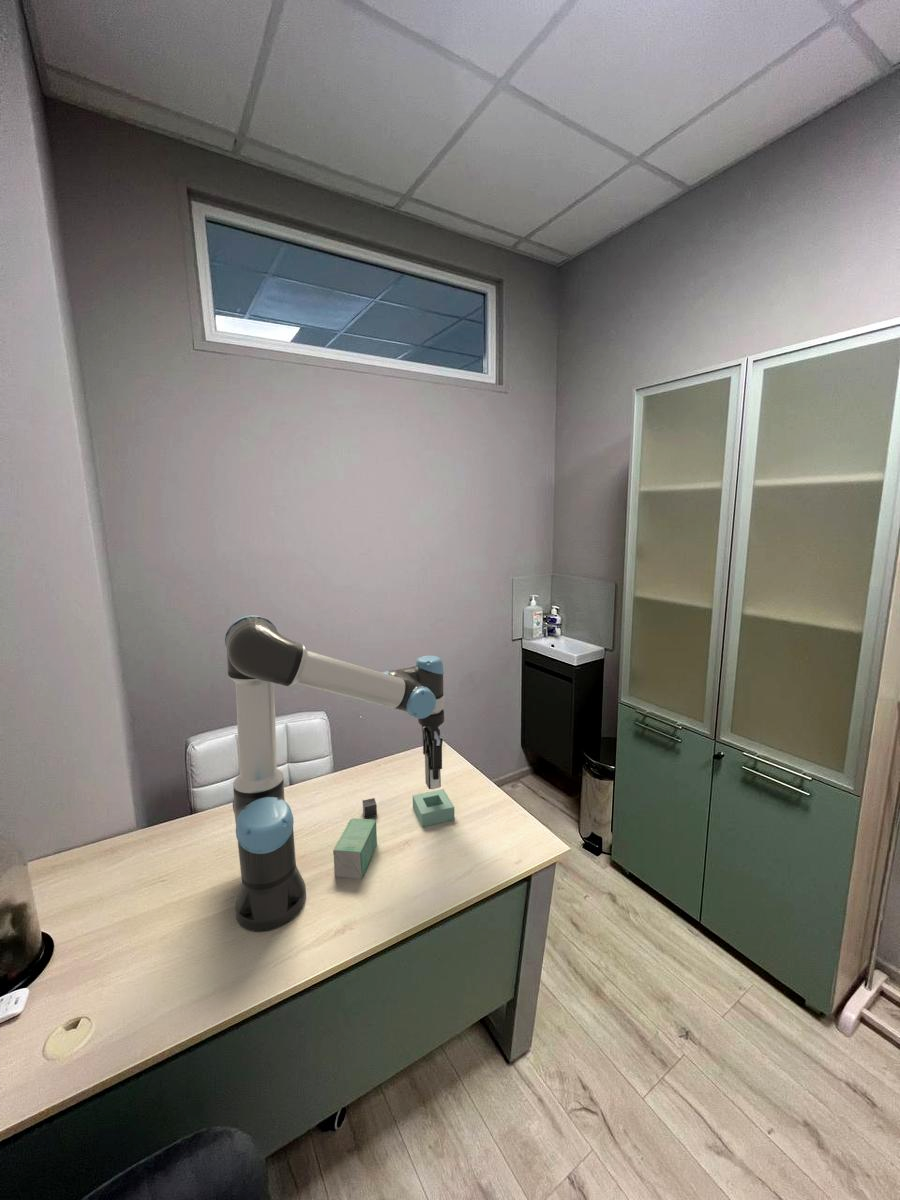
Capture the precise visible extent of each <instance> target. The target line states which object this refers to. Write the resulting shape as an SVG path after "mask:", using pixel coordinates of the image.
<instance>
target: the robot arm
mask: <svg viewBox="0 0 900 1200" xmlns="http://www.w3.org/2000/svg"><path fill="white" fill-rule="evenodd" d="M224 645H225V647H226V660H227V676H228V678H229V679H230V680H231V681H233V682H234V683H235V701H236V724H237V725H236V726H237V743H238V744H237V745H238V746H237V747H238V748H237V750H238V766H239V767H238V768H239V774H238V776H237V777H236V778H234V780H233V783H232V785H233V786H232V787H233V799H232V809H233V814H234V819H235V820H234V821H235V835H236V840H237V847H238V849H237V850H238V857H239V868H240V877H241V878H240V879H241V882H240V886H239V891H238V894H237V898H236V901H235V917H236V920H237V923H238V925H240V926H241V927H242V928H244V929H246V930H248V931H251V932H266V931H271V930H273V929H277V928H279V927H282V926H284V925H286V924H287V923H289V922H290V921H291V920H293V919H294V918H295V917H296V916H297V915H298V914H299V913H300V912H301V910H302V909H303V908H304V906H305V904H306V900H307V888H306V883H305V880H304V878H303V877H302V874H301V873H300V871H299V869H298V866H297V862H296V861H297V860H296V846H295V845H296V844H295V837H294V835H295V834H294V833H295V832H294V815H293V812H292V809H291V806H290V805H289V803H288V802H287V801H286V800H285V782H284V781H285V780H284V773H283V771H281V769H279V768H278V767H277V766H278V760H277V759H278V757H277V756H278V755H277V734H276V731H277V730H276V729H277V728H276V727H277V725H276V701H275V700H276V699H275V696H276V695H275V684H276V685H277V684H278V685H281V686H284V687H285V686H286V687H291V686H293V685H295V684H298V685H301V686H305V687H307V688H312V689H316V690H321V691H325V692H328V693H333V694H336V695H341V696H344V697H349V698H352V699H357V700H360V701H364V702H368V703H372V704H375V705H380V706H383V707H387V708H391V709H395V710H398V711H403V712H406V713H408V714H409V715H410V716H411V717H413V718H415V719H417V721H418V724H419V725H421V733H422V735H421V736H422V751H423V752H422V754H423V756H425V752H426V751H430V761H431V767H428V768H429V770H430V788H431V789H430V790H436V789H440V788H441V787H440V776H441V770H442V769H443V741H444V740H443V738H442V737H440V736H441V731H440V728H439V727H440V726H441V725H443V723H445V711H444V710H445V709H444V708H445V707H444V704H445V703H444V701H445V700H446V696H444V664H443V660H442V658H441V657H439V656H437V655H424V656H423V655H422V656H421V657H420V656H419V657H417V659H416V662H415V665H414V666H410V667H405V668H399V669H393V670H392V669H391V670H386V671H382V672H381V671H377V670H374V669H371V668H367V667H364V666H360V665H357V664H353V663H350V662H347V661H344V660H340V659H337V658H335V657H330V656H327V655H323V654H320V653H317V652H314V651H309V650H307V649H306V647H305V645H304V644H302V643H300V642H296V641H293V640H291V639H289V638H287V637H286V636H283V635H282V634H281V633H279V631H278V629H277V627H276V626H275V624H274V623H273V622H272V621H270V619H268V618H266V617H263V616H260V615H254V614H251V615H246V616H242V617H240V618H237V619H236V620H235V621H234V622H233V623H232V624H230V626H229V627H228V629H227V631H226V633H225V637H224ZM439 769H440V771H439Z"/></svg>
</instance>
